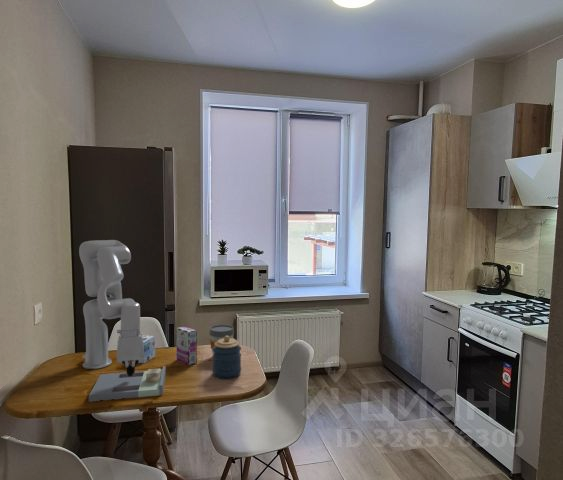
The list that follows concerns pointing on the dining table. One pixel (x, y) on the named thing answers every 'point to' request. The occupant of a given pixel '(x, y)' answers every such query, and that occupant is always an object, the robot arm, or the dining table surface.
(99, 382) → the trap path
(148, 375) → the clear glass block
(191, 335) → the candy bar box
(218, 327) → the reusable coffee cup
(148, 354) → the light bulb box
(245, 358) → the dining table surface
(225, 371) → the canister
